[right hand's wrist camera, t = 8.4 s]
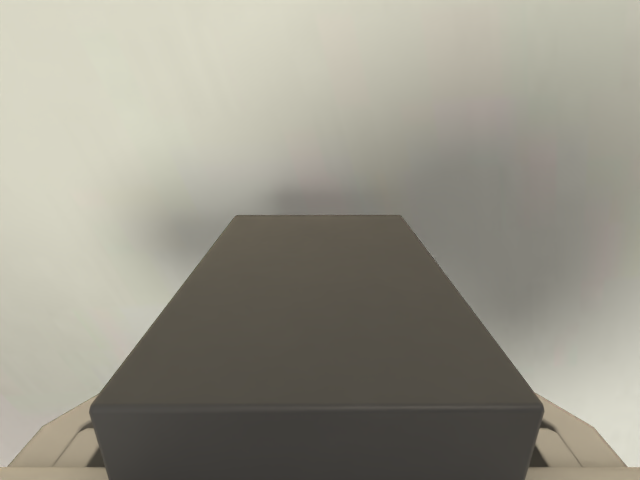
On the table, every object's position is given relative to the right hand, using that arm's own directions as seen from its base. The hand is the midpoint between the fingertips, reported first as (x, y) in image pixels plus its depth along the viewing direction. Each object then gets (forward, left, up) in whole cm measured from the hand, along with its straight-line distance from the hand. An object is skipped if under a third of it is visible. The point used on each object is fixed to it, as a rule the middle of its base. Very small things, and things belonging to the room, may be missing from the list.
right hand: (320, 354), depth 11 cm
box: (0, +8, -3) cm, 9 cm away
